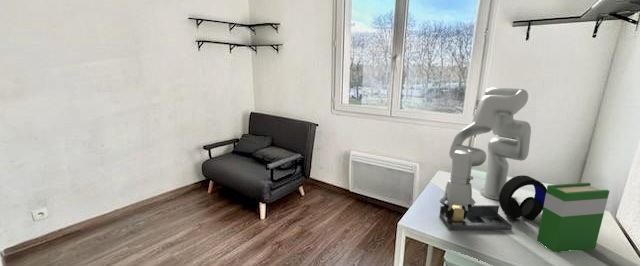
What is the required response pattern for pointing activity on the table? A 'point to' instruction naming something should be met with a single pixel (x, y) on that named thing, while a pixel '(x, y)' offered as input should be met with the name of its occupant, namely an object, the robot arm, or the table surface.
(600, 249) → the table surface
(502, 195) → the headphones
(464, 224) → the grey slotted rack
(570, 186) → the hardback book
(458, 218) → the brass peg
